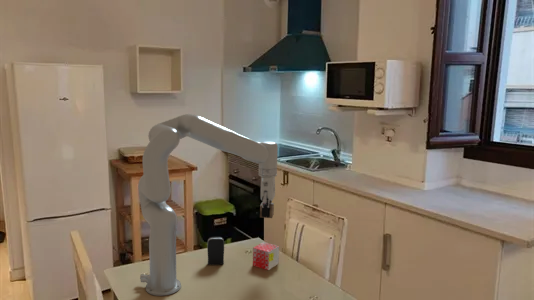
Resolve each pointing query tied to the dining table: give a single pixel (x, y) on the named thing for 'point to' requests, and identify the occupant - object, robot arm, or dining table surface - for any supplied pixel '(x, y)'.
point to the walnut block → (270, 210)
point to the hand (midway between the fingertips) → (266, 214)
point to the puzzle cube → (265, 255)
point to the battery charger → (215, 250)
